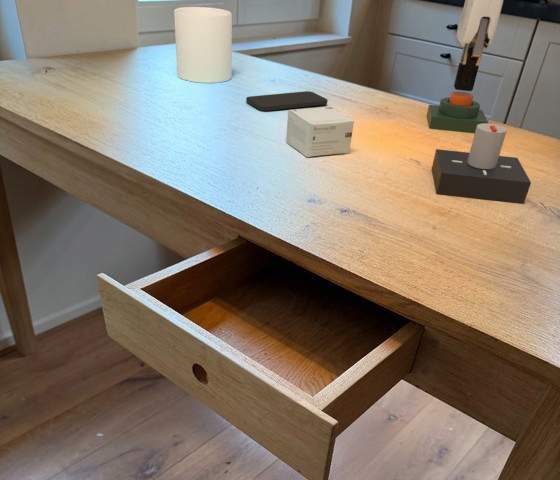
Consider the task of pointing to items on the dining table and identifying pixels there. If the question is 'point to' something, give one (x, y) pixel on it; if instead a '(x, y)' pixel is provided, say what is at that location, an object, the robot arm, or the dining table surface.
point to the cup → (203, 44)
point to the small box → (319, 131)
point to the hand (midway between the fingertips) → (462, 89)
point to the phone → (286, 100)
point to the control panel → (479, 178)
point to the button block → (455, 117)
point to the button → (461, 98)
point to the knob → (486, 146)
